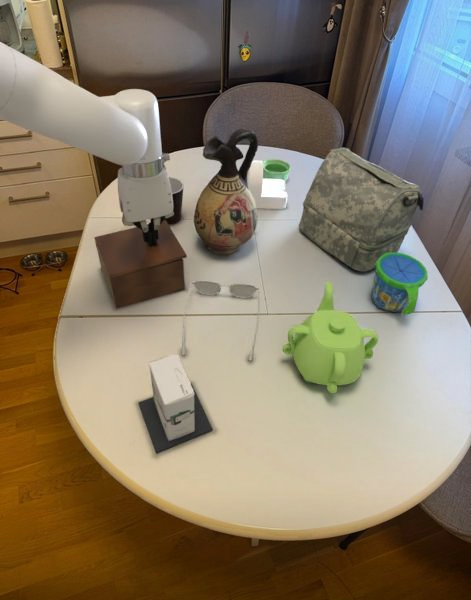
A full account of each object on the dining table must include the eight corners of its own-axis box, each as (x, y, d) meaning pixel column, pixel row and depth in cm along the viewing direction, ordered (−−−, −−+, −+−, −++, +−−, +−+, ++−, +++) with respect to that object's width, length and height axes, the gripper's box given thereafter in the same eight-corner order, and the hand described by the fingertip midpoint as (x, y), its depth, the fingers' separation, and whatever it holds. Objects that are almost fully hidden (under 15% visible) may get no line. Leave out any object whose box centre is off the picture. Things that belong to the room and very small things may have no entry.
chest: (165, 254, 103) (162, 225, 97) (184, 289, 95) (183, 260, 89) (101, 270, 98) (94, 240, 92) (116, 309, 90) (109, 278, 83)
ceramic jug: (207, 270, 100) (208, 150, 79) (186, 233, 110) (181, 118, 88) (270, 254, 106) (287, 138, 84) (244, 221, 115) (253, 109, 94)
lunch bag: (409, 259, 107) (444, 182, 92) (359, 283, 99) (388, 204, 84) (339, 209, 122) (359, 135, 106) (291, 227, 114) (305, 150, 99)
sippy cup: (421, 327, 91) (440, 294, 83) (373, 326, 90) (388, 293, 83) (399, 278, 101) (414, 245, 94) (357, 277, 101) (368, 244, 94)
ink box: (152, 400, 74) (146, 360, 66) (179, 390, 76) (176, 350, 67) (168, 442, 69) (163, 405, 60) (196, 431, 70) (195, 393, 62)
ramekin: (258, 171, 135) (259, 158, 132) (285, 171, 136) (287, 158, 133) (262, 186, 129) (264, 173, 126) (291, 185, 130) (293, 172, 127)
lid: (165, 222, 97) (165, 219, 96) (186, 257, 89) (186, 254, 88) (94, 239, 92) (94, 237, 91) (109, 278, 83) (109, 275, 83)
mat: (156, 453, 68) (155, 452, 67) (138, 404, 74) (138, 402, 73) (212, 430, 71) (212, 428, 71) (191, 384, 77) (191, 382, 77)
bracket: (282, 190, 128) (287, 155, 119) (286, 209, 120) (292, 172, 112) (220, 188, 127) (221, 152, 118) (220, 207, 119) (221, 170, 111)
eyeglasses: (258, 297, 94) (260, 284, 91) (255, 362, 82) (257, 349, 79) (190, 291, 94) (190, 278, 92) (177, 355, 82) (176, 342, 79)
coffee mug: (158, 207, 118) (155, 175, 110) (188, 211, 117) (186, 179, 110) (146, 231, 109) (142, 198, 102) (178, 235, 109) (176, 202, 102)
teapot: (267, 351, 84) (274, 308, 75) (317, 321, 90) (329, 278, 81) (325, 410, 75) (340, 369, 66) (375, 372, 81) (396, 330, 72)
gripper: (173, 148, 82) (178, 225, 95) (97, 161, 77) (112, 240, 90) (187, 166, 78) (189, 244, 91) (106, 180, 73) (121, 261, 86)
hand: (151, 242), depth 90 cm, fingers closed
